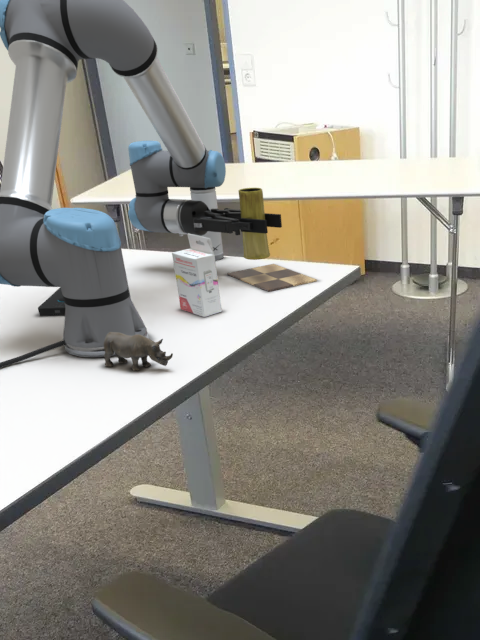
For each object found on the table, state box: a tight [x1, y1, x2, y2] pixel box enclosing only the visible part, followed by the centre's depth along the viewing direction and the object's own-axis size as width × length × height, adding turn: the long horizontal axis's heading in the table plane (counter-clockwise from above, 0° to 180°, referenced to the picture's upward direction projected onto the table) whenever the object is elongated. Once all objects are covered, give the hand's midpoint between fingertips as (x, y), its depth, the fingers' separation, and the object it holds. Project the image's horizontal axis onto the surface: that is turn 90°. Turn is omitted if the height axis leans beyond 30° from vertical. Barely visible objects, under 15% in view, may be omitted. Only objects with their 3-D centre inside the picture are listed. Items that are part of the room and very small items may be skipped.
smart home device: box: [37, 287, 66, 317], centre depth 167 cm, size 8×2×20 cm
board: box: [227, 263, 318, 293], centre depth 179 cm, size 13×20×1 cm, turn 36°
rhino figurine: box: [103, 332, 174, 371], centre depth 131 cm, size 4×14×6 cm, turn 69°
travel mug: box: [189, 187, 224, 261], centre depth 192 cm, size 6×7×20 cm
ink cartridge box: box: [171, 233, 223, 318], centre depth 155 cm, size 9×5×15 cm, turn 47°
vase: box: [238, 187, 271, 261], centre depth 171 cm, size 6×6×14 cm
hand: (273, 223), depth 169 cm, fingers closed on vase, 5 cm apart
